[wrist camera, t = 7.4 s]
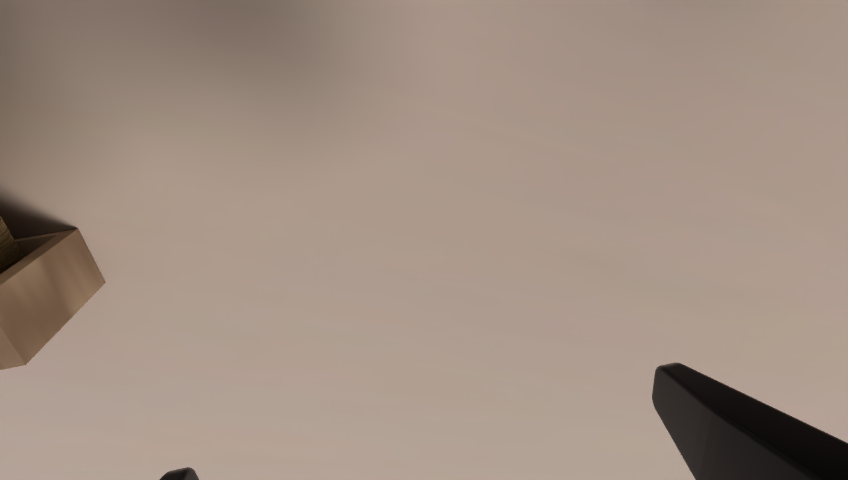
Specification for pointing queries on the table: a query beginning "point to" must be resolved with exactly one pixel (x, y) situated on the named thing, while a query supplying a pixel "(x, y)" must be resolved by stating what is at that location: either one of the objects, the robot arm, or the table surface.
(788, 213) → the table surface
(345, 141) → the table surface
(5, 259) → the gold elongated piece
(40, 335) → the socket block
